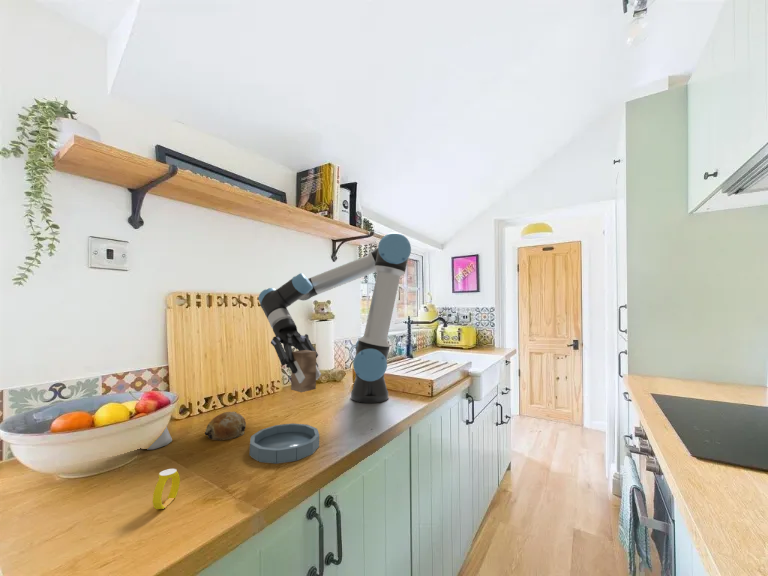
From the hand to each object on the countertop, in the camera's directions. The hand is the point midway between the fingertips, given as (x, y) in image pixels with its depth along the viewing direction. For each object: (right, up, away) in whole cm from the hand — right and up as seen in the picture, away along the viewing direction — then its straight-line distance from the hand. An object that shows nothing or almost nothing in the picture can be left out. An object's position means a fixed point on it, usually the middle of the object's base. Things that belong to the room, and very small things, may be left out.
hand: (310, 378), depth 101 cm
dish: (-3, -13, -17) cm, 22 cm away
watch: (-17, -12, -41) cm, 46 cm away
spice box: (-3, -4, +2) cm, 5 cm away
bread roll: (-22, -14, -8) cm, 28 cm away
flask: (-38, -13, -16) cm, 43 cm away
